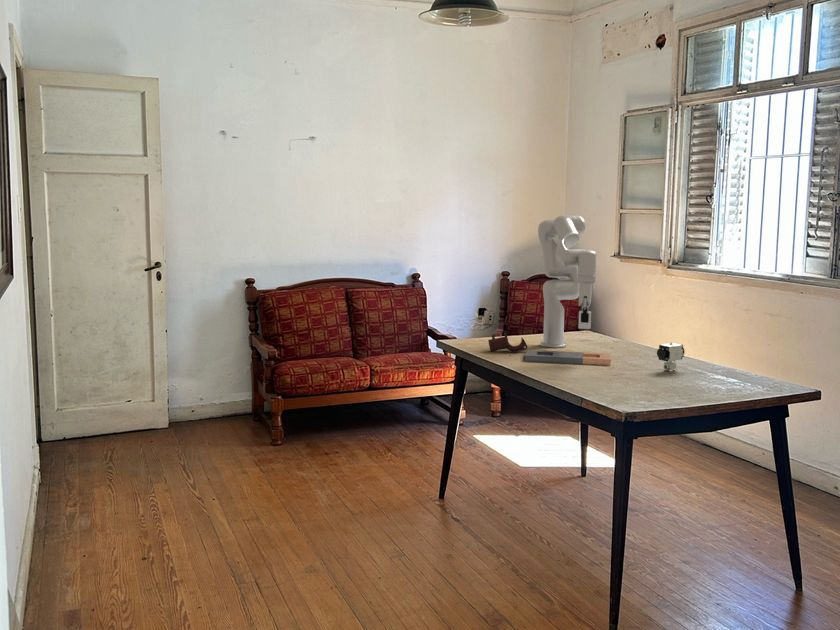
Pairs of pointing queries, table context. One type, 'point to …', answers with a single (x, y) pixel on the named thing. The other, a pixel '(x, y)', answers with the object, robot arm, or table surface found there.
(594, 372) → the table surface
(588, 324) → the grey rectangular block
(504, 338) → the bracket
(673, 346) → the pneumatic valve
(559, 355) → the grey copper flat plate
